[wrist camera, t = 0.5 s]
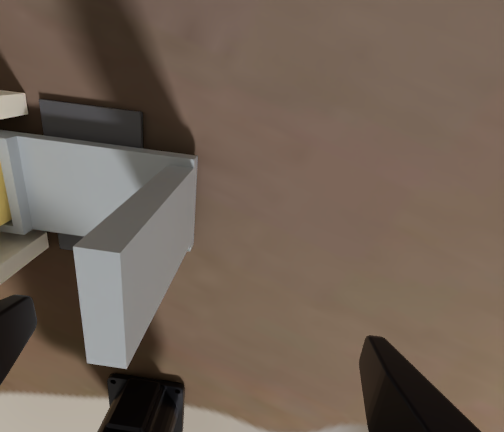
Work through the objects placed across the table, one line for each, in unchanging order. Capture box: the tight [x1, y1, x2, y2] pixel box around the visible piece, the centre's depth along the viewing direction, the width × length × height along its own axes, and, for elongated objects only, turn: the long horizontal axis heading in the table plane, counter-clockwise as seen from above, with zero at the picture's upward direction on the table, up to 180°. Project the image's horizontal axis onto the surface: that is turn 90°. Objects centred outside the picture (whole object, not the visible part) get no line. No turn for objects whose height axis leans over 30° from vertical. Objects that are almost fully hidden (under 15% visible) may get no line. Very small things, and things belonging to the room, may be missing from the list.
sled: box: [0, 130, 198, 369], centre depth 16 cm, size 6×17×10 cm, turn 84°
